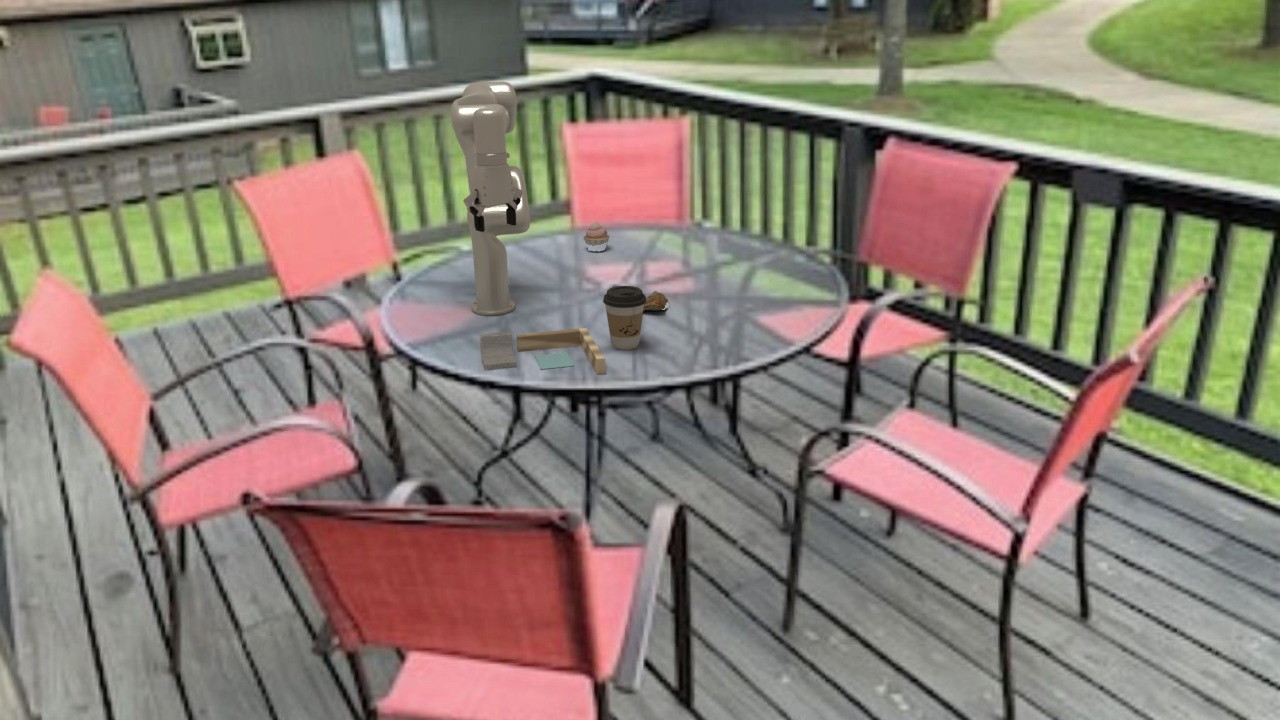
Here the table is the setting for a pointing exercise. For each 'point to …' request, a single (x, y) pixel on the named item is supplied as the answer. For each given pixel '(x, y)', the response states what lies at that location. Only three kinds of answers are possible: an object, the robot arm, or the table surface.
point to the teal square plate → (554, 361)
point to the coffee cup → (624, 315)
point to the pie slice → (655, 301)
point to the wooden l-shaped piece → (564, 344)
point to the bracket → (497, 351)
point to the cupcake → (596, 235)
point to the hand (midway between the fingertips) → (495, 227)
